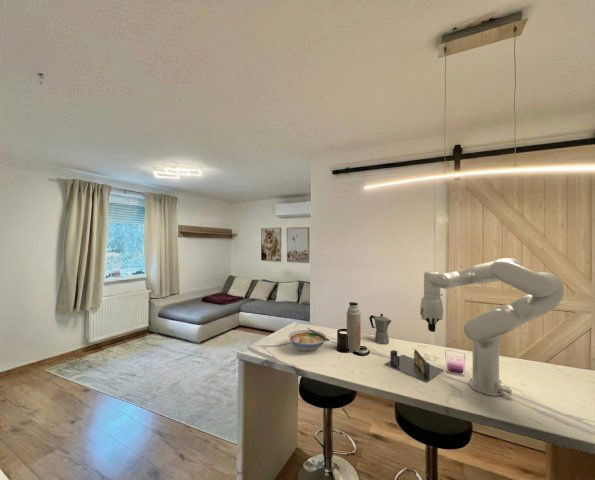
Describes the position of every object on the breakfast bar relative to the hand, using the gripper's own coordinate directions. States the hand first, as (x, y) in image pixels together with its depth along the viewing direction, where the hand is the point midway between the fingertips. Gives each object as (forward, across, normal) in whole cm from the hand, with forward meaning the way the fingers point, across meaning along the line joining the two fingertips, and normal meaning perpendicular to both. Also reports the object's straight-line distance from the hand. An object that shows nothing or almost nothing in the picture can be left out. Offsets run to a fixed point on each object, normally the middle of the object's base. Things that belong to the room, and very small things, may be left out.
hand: (431, 330), depth 134 cm
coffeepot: (+19, +14, -34) cm, 42 cm away
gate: (+17, +7, +3) cm, 19 cm away
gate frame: (+18, +10, +1) cm, 21 cm away
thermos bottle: (+19, +35, -22) cm, 45 cm away
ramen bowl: (+19, +62, -25) cm, 70 cm away
